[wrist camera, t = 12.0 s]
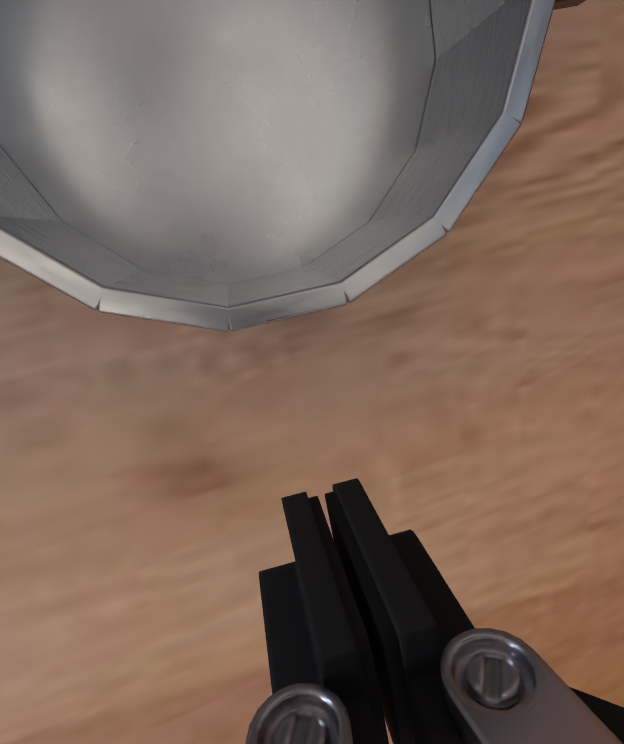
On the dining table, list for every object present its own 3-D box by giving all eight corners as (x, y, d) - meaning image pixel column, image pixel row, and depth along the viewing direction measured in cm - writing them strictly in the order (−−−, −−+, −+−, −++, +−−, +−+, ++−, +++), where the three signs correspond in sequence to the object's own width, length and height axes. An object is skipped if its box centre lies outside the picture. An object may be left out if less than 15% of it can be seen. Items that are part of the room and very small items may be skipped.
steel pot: (-217, -235, 12) (-617, -658, 6) (451, -300, 14) (609, -673, 8) (17, 347, 17) (-91, 407, 11) (495, 239, 18) (615, 242, 13)
